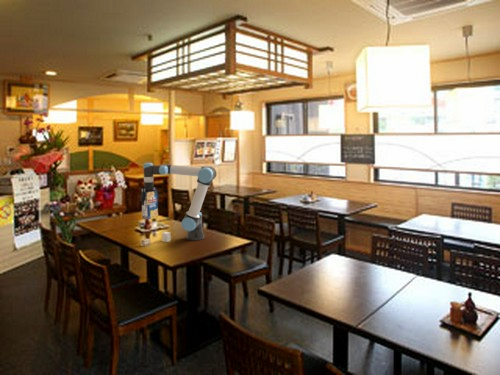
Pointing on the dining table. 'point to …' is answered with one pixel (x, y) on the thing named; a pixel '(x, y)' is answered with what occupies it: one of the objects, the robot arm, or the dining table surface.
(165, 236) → the white plastic block
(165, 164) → the robot arm
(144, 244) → the maple cube
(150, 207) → the beverage box
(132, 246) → the dining table surface
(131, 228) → the dining table surface
